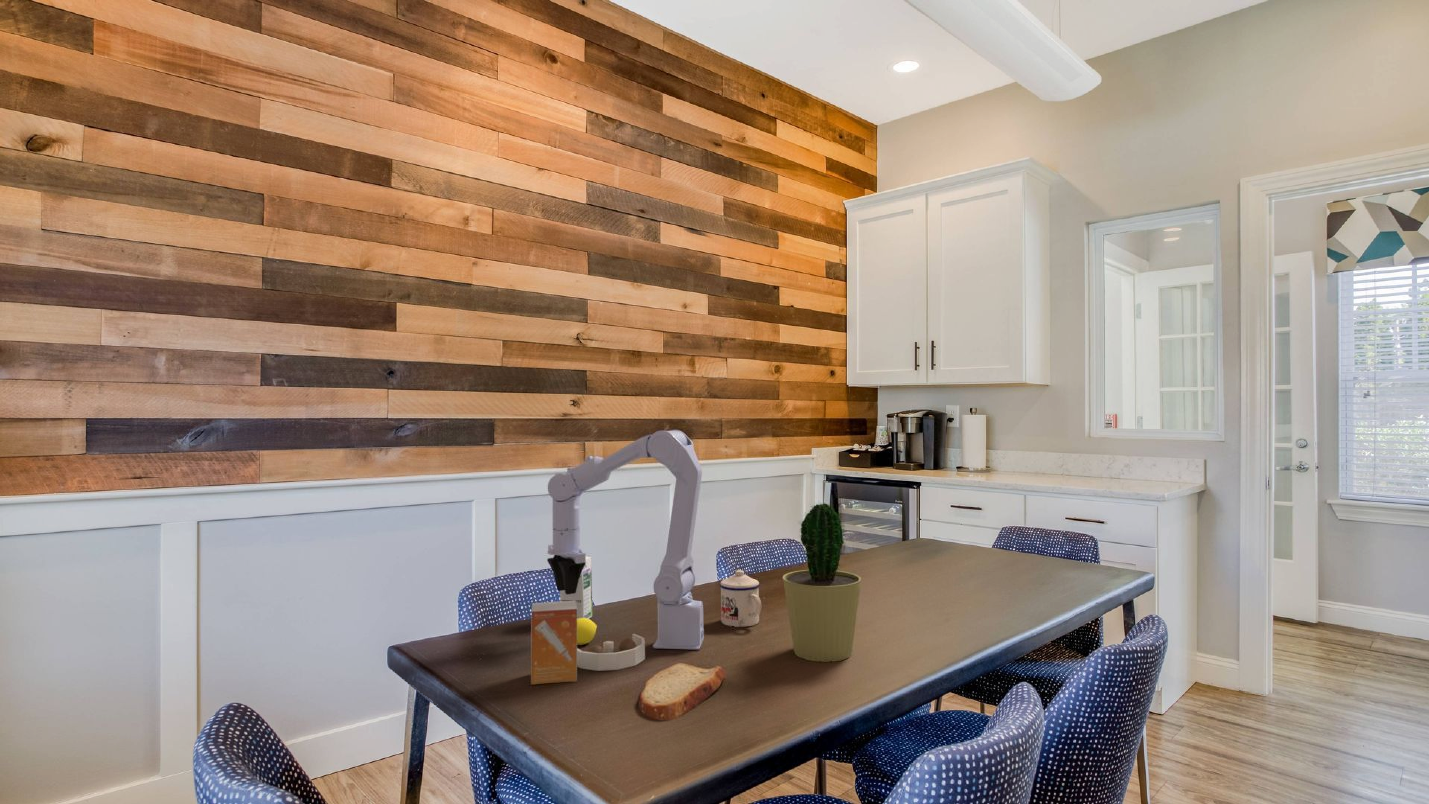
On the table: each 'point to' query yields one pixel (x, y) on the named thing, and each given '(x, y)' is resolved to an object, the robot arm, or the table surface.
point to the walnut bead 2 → (626, 644)
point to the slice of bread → (678, 690)
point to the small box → (554, 642)
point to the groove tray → (612, 656)
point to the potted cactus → (822, 592)
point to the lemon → (585, 630)
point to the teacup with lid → (740, 600)
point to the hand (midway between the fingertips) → (566, 591)
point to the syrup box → (582, 592)
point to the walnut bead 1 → (596, 649)
